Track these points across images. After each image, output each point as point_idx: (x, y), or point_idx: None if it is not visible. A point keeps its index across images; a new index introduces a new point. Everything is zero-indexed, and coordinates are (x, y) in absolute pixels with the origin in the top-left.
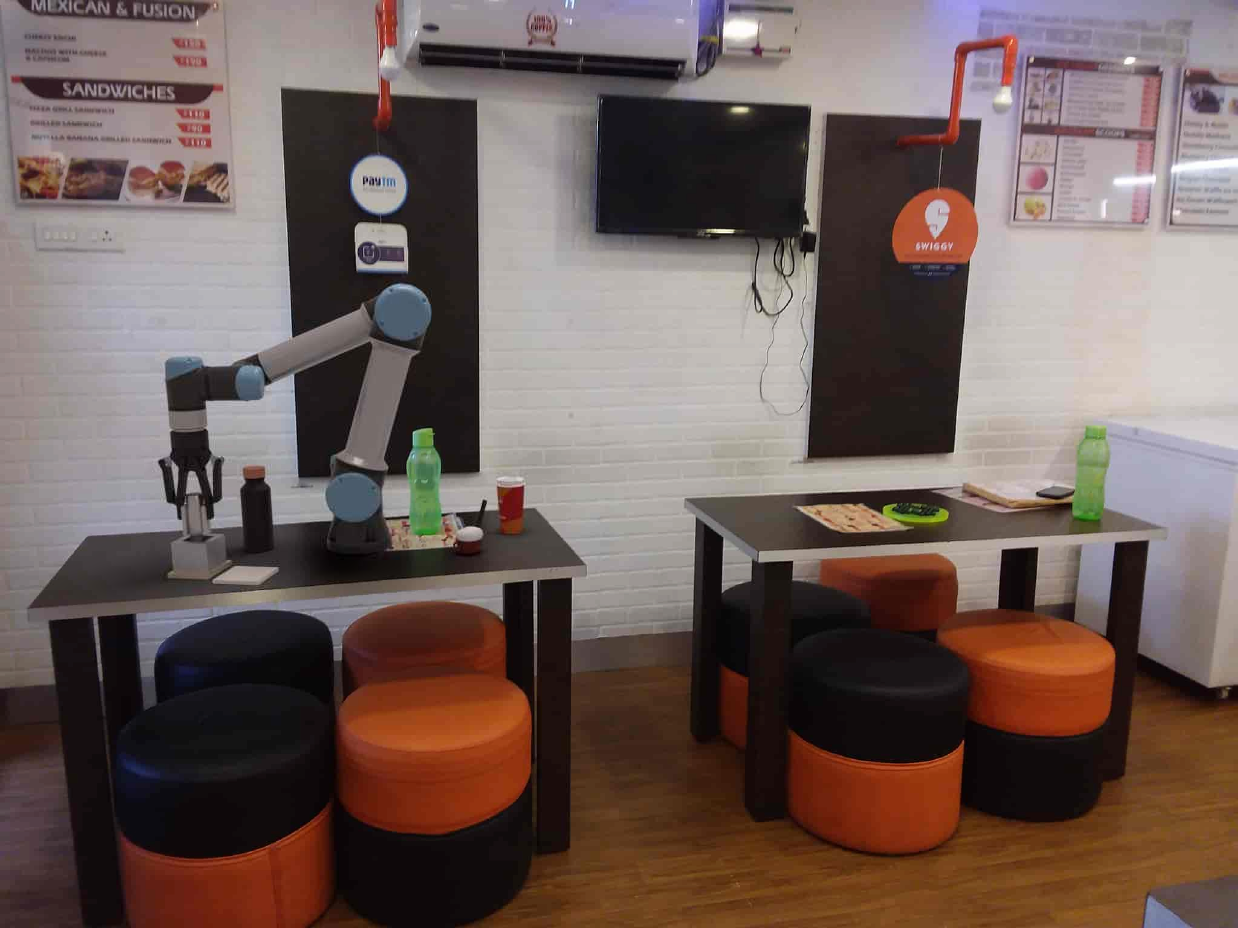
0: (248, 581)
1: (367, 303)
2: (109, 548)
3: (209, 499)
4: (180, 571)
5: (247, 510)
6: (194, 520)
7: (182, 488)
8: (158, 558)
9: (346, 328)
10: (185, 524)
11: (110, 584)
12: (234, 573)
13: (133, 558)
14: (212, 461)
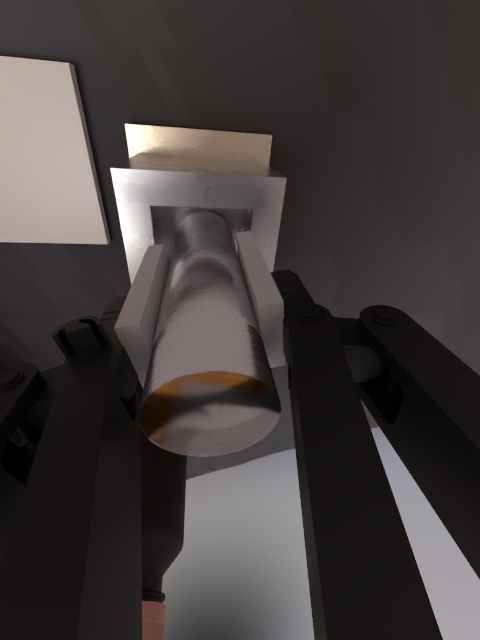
0: None
1: None
2: (459, 348)
3: (60, 378)
4: (237, 160)
5: (146, 456)
6: (194, 265)
7: (305, 431)
8: (350, 304)
9: None
10: (245, 253)
11: (436, 41)
12: (49, 162)
13: (404, 299)
14: None
